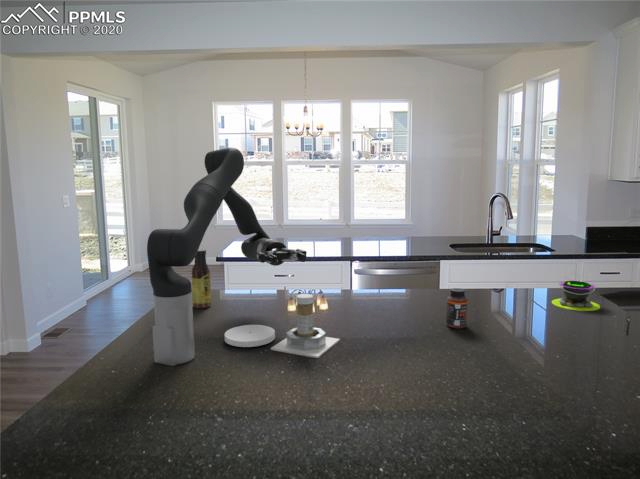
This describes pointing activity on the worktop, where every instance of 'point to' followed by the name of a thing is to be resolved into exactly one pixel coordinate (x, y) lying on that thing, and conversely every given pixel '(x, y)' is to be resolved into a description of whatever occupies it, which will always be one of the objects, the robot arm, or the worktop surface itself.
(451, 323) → the supplement bottle
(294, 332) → the ring
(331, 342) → the base plate
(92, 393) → the worktop surface
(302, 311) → the sprinkles bottle
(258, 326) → the plastic lid
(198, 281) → the sauce bottle
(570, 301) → the toy cauldron
